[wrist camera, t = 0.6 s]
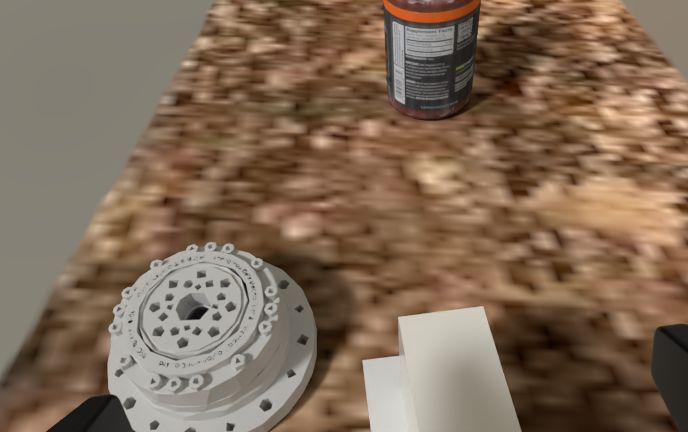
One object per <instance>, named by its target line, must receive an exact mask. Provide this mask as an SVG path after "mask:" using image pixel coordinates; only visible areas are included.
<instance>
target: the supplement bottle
mask: <svg viewBox="0 0 688 432" xmlns="http://www.w3.org/2000/svg"><path fill="white" fill-rule="evenodd" d="M480 5H481V0H383V8H384V30H385V51H386V73H387V77H386V80H387V89H388V97H389V100H390V103H391V105H392V106H393V107H394V108H395V109H396V110H398V111H399V112H401V113H402V114H404V115H406V116H408V117H411V118H415V119H424V120H432V119H441V118H445V117H448V116H450V115H453V114H455V113H457V112H458V111H460V110H461V109H462V108H463V107H464V106H465V105H466V104H467V102H468V101H469V99H470V95H471V89H472V83H473V73H474V63H475V52H476V43H477V34H478V23H479V12H480Z"/></svg>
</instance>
